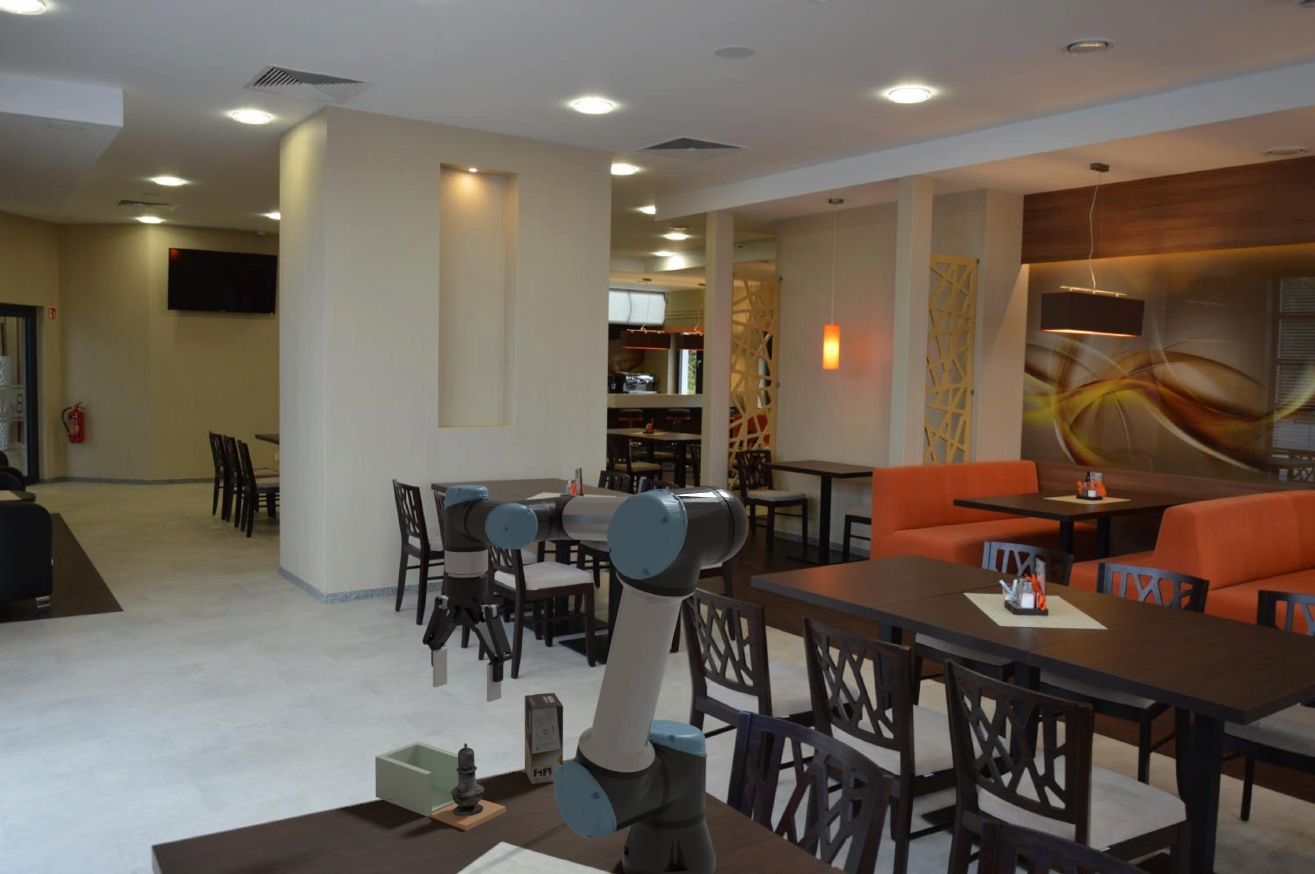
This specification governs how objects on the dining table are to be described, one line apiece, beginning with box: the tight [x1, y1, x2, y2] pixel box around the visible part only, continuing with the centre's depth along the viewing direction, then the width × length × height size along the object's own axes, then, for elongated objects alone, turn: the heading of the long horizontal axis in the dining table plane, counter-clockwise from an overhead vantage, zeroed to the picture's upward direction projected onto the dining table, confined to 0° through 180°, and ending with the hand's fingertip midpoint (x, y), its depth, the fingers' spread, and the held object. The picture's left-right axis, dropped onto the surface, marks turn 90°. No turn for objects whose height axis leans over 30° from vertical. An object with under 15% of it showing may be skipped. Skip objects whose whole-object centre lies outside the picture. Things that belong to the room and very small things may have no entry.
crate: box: [374, 741, 458, 817], centre depth 183 cm, size 14×10×9 cm
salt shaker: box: [451, 742, 485, 816], centre depth 176 cm, size 6×6×12 cm
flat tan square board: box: [429, 798, 507, 832], centre depth 176 cm, size 1×10×9 cm
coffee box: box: [524, 692, 564, 785], centre depth 195 cm, size 9×6×16 cm
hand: (466, 692), depth 176 cm, fingers open, 13 cm apart
